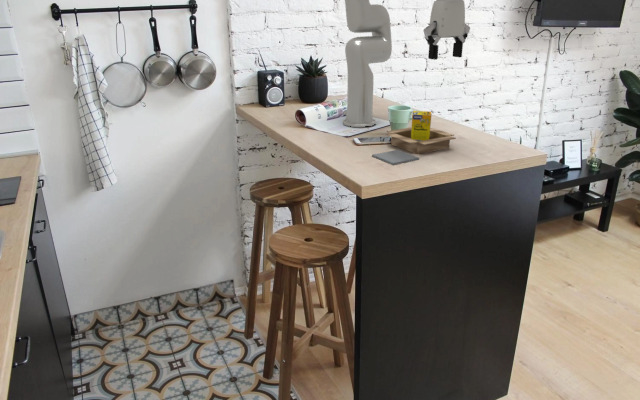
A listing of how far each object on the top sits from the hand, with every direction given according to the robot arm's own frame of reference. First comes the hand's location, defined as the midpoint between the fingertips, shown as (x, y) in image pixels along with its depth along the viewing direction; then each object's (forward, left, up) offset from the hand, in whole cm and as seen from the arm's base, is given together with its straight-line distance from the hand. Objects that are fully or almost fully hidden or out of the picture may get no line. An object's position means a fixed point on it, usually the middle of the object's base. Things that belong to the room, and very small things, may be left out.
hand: (445, 58), depth 153 cm
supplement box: (-7, -1, -29) cm, 30 cm away
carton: (-7, -1, -29) cm, 30 cm away
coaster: (-1, -16, -29) cm, 33 cm away
